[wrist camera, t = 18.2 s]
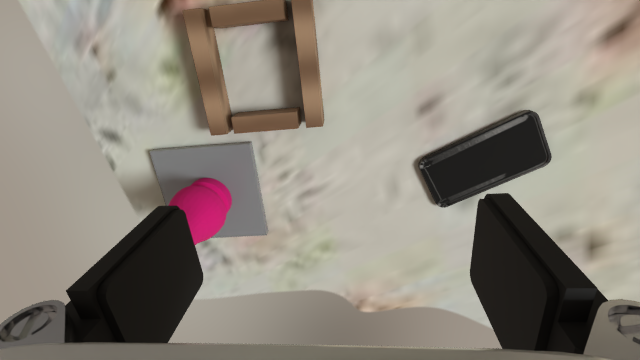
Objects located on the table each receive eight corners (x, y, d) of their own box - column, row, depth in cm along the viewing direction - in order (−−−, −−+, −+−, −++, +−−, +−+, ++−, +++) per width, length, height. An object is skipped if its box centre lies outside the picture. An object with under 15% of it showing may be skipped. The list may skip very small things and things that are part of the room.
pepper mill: (236, 221, 49) (170, 333, 30) (188, 217, 49) (93, 325, 31) (234, 176, 46) (158, 268, 27) (182, 172, 46) (74, 260, 28)
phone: (417, 162, 43) (536, 107, 40) (415, 159, 44) (531, 106, 41) (439, 210, 46) (554, 163, 42) (437, 206, 47) (549, 160, 43)
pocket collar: (193, 12, 39) (182, 10, 36) (312, -3, 38) (309, -6, 35) (219, 129, 44) (211, 135, 42) (324, 120, 43) (322, 126, 40)
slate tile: (153, 149, 46) (149, 151, 45) (251, 141, 45) (249, 143, 44) (179, 235, 52) (176, 239, 51) (268, 231, 50) (266, 235, 49)
